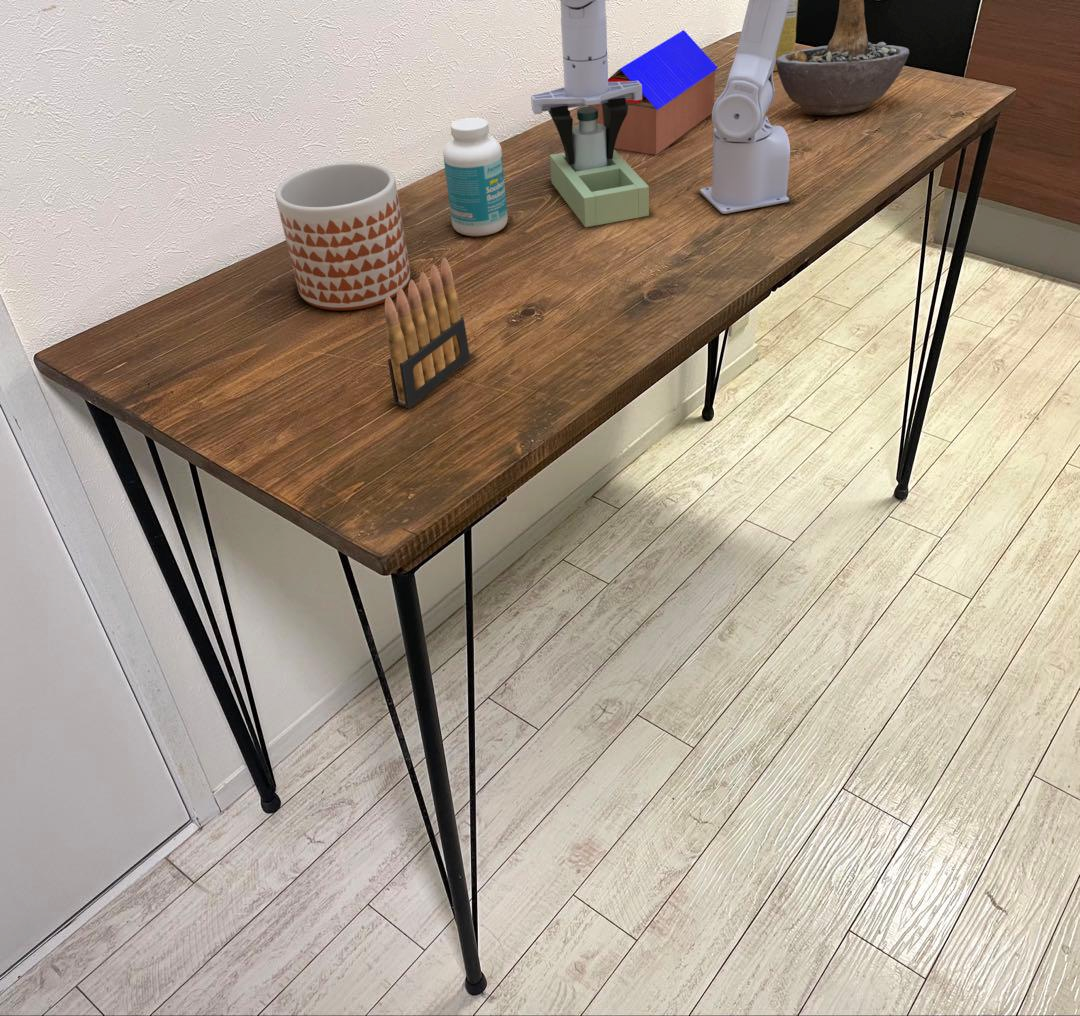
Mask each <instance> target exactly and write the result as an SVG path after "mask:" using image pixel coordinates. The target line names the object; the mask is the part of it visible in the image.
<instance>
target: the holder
mask: <svg viewBox="0 0 1080 1016" xmlns="http://www.w3.org/2000/svg"><path fill="white" fill-rule="evenodd" d="M549 164H550V165H549V166H550V182H551V185H552V186H553V187H554V188H555V189H556V191H557V192H558V193H559V195H560V196H561V197H562V199H563V200H564V202H565V203H566V204H567V205H568V207H569V208H570V209H571V210H572V212H573V213H574V215H575V216H576V217H577V219H578V220H579V221H580V222H581V224H582V225H583V226H584V228H590V227H595V226H600V225H607V224H612V223H618V222H622V221H628V220H633V219H638V218H643V217H644V218H645V217H649V216H650V186H649V185H648V184H647V183H646V181H644V179H643V178H642V177H641V176H640V175H639V174H638V173H637V172H636V170H634V168H632V167H631V166H630V164H628V162H626V160H625V159H624V158H623V157H622V156H621V155H620V154H619V153H618V152H617V150H615V149H614V152H613V158H612V159H607V166H605V167H600V168H594V169H588V170H583V171H577V172H575V171H574V170H573V169H572V164H571V165H569V164H568V162H567V161H566V156H565V152H559V153H554V154H553V153H552V154H550V155H549Z"/></svg>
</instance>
